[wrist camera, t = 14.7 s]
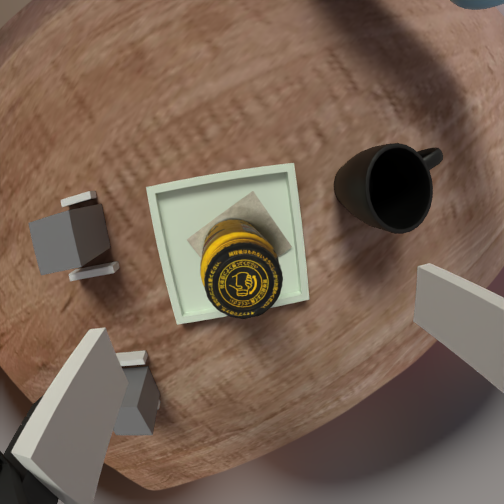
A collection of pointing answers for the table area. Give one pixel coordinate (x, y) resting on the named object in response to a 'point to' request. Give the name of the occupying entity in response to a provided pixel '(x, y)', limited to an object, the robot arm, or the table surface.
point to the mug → (388, 186)
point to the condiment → (241, 259)
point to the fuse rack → (78, 254)
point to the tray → (208, 208)
